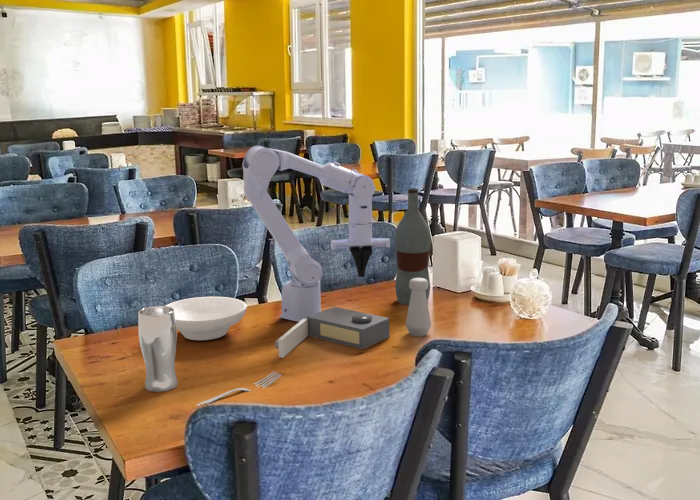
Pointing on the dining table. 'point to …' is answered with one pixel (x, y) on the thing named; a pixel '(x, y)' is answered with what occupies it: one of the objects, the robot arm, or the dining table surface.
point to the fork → (243, 388)
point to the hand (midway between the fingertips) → (361, 276)
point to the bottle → (411, 249)
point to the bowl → (207, 316)
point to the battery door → (292, 338)
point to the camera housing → (348, 327)
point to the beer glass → (158, 347)
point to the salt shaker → (418, 308)
